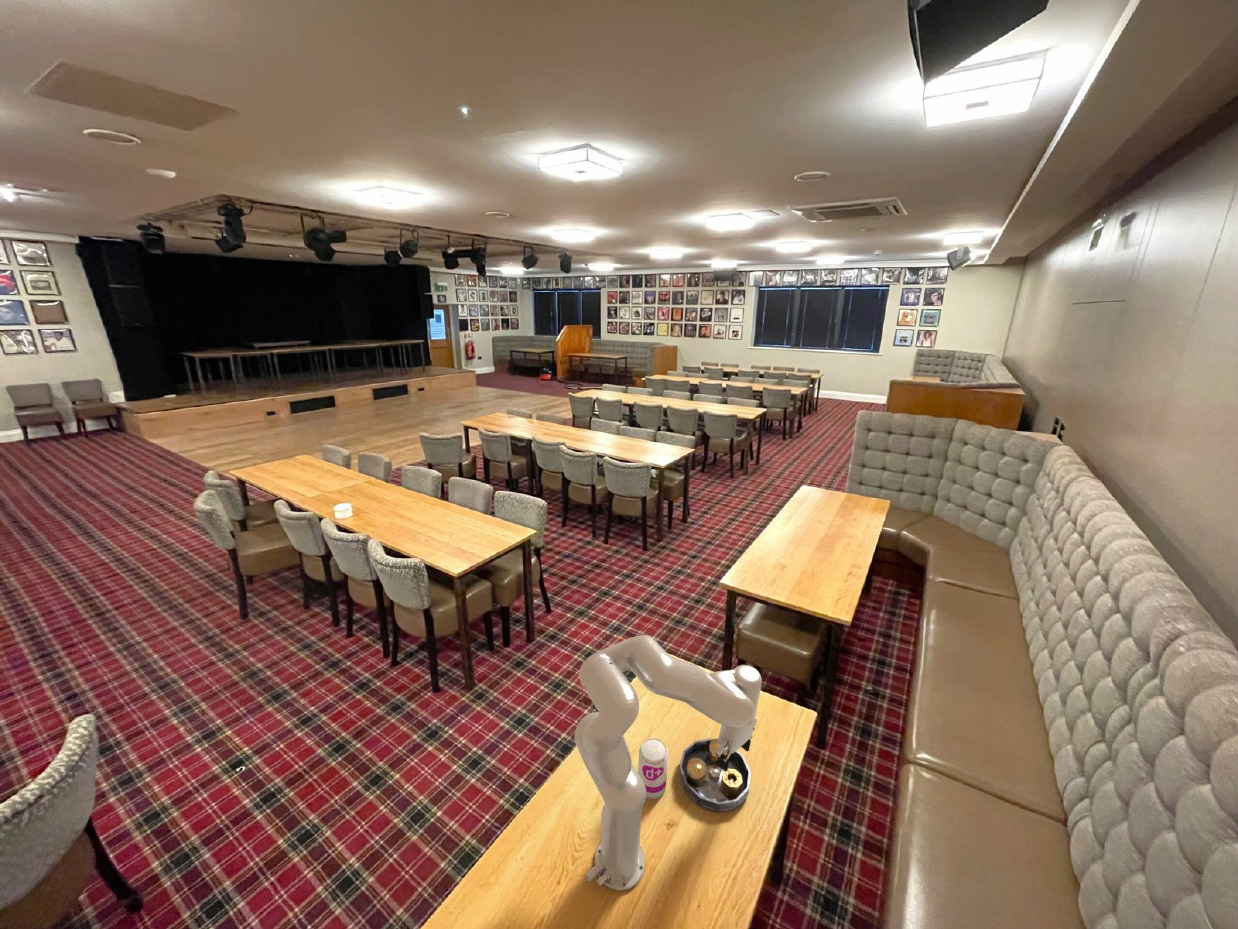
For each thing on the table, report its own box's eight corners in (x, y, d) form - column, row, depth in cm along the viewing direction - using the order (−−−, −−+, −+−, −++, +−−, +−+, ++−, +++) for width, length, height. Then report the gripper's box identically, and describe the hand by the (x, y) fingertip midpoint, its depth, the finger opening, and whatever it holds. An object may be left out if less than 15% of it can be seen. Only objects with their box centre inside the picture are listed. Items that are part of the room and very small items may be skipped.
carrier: (719, 827, 133) (721, 812, 130) (666, 774, 147) (667, 759, 144) (762, 782, 145) (765, 766, 143) (709, 736, 159) (710, 722, 157)
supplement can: (664, 803, 139) (666, 765, 133) (635, 797, 140) (636, 759, 135) (667, 776, 146) (670, 739, 141) (639, 771, 147) (641, 734, 142)
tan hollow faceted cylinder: (716, 789, 141) (718, 776, 140) (728, 777, 145) (730, 765, 143) (732, 803, 138) (734, 790, 136) (743, 791, 141) (745, 779, 139)
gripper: (748, 685, 139) (740, 732, 144) (709, 717, 128) (702, 765, 133) (771, 702, 133) (762, 749, 139) (732, 736, 122) (724, 786, 128)
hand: (733, 757), depth 136 cm, fingers open, 9 cm apart
